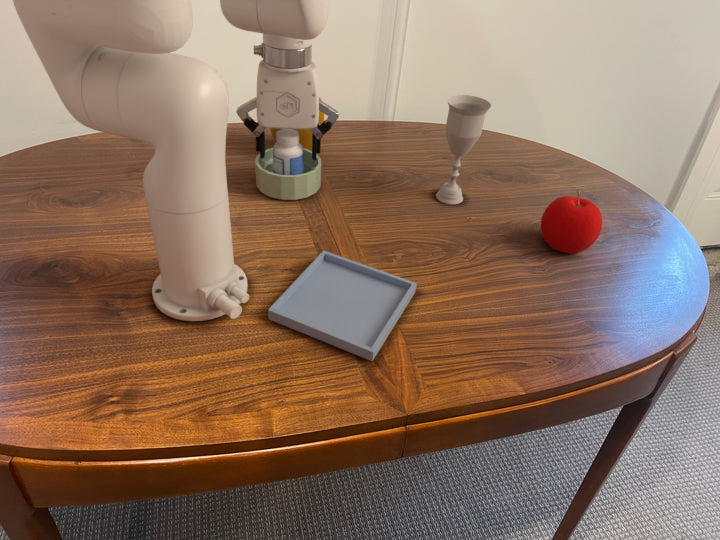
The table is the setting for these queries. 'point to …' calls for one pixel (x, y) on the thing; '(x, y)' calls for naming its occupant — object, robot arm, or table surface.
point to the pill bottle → (288, 153)
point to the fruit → (571, 224)
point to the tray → (344, 304)
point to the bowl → (288, 178)
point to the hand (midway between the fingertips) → (288, 155)
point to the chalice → (461, 137)
